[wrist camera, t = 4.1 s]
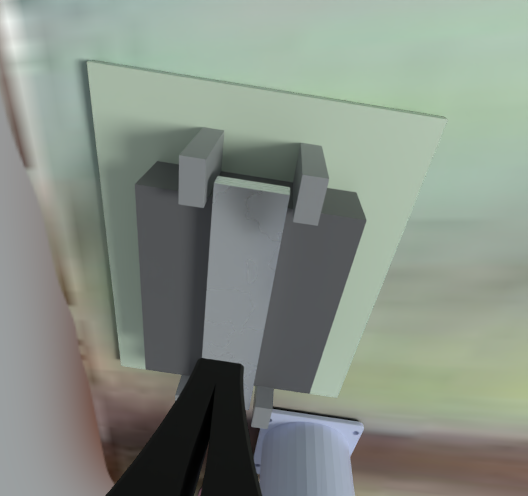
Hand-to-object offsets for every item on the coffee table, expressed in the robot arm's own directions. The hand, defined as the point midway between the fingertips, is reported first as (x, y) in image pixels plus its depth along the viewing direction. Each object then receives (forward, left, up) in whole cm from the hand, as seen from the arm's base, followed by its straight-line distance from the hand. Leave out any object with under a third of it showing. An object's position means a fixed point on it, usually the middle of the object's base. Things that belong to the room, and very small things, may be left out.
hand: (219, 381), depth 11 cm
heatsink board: (-3, 0, -10) cm, 11 cm away
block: (-3, 0, -7) cm, 7 cm away
